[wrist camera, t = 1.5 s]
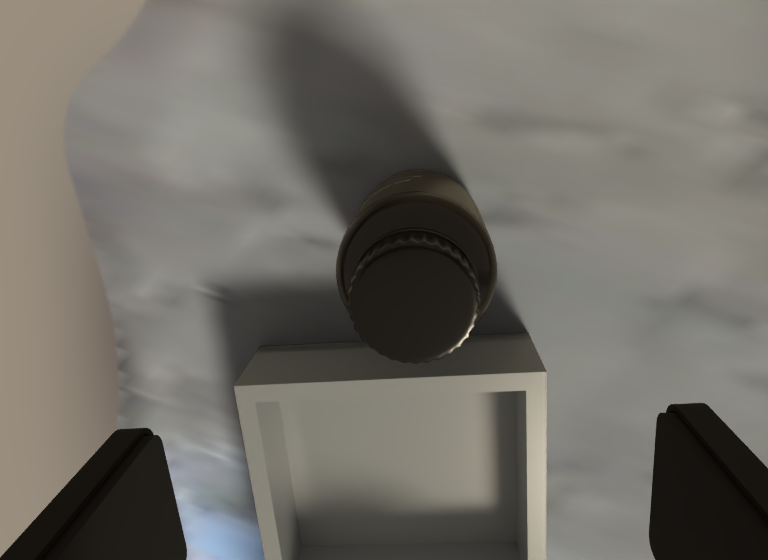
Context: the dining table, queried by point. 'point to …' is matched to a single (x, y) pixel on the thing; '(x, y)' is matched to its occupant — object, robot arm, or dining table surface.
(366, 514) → the tray
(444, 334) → the supplement bottle
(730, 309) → the dining table surface
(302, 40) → the dining table surface
